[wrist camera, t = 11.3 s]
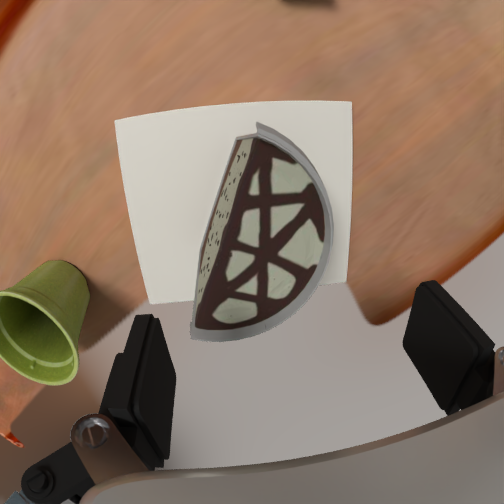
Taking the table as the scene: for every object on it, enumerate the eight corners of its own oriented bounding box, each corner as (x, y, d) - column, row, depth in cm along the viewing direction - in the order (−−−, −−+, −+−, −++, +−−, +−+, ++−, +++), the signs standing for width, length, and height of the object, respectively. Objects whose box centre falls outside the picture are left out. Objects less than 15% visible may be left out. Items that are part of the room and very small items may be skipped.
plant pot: (83, 340, 30) (58, 400, 22) (14, 289, 26) (-26, 340, 18) (123, 283, 27) (97, 346, 20) (44, 223, 24) (-8, 267, 16)
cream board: (346, 101, 23) (351, 101, 22) (342, 276, 30) (346, 281, 29) (118, 119, 21) (114, 120, 20) (151, 298, 28) (150, 304, 27)
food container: (264, 282, 28) (287, 363, 19) (195, 264, 26) (188, 346, 17) (318, 145, 23) (381, 171, 14) (242, 118, 22) (262, 122, 13)
